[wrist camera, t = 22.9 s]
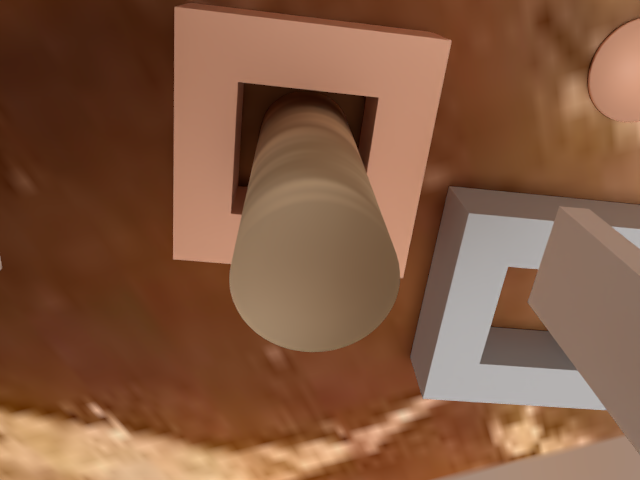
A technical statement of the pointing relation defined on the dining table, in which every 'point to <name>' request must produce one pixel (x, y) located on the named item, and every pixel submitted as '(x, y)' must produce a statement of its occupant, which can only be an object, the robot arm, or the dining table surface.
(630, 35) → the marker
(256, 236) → the peg
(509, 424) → the dining table surface
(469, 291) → the socket grey
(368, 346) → the dining table surface
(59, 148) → the dining table surface
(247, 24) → the socket terracotta
